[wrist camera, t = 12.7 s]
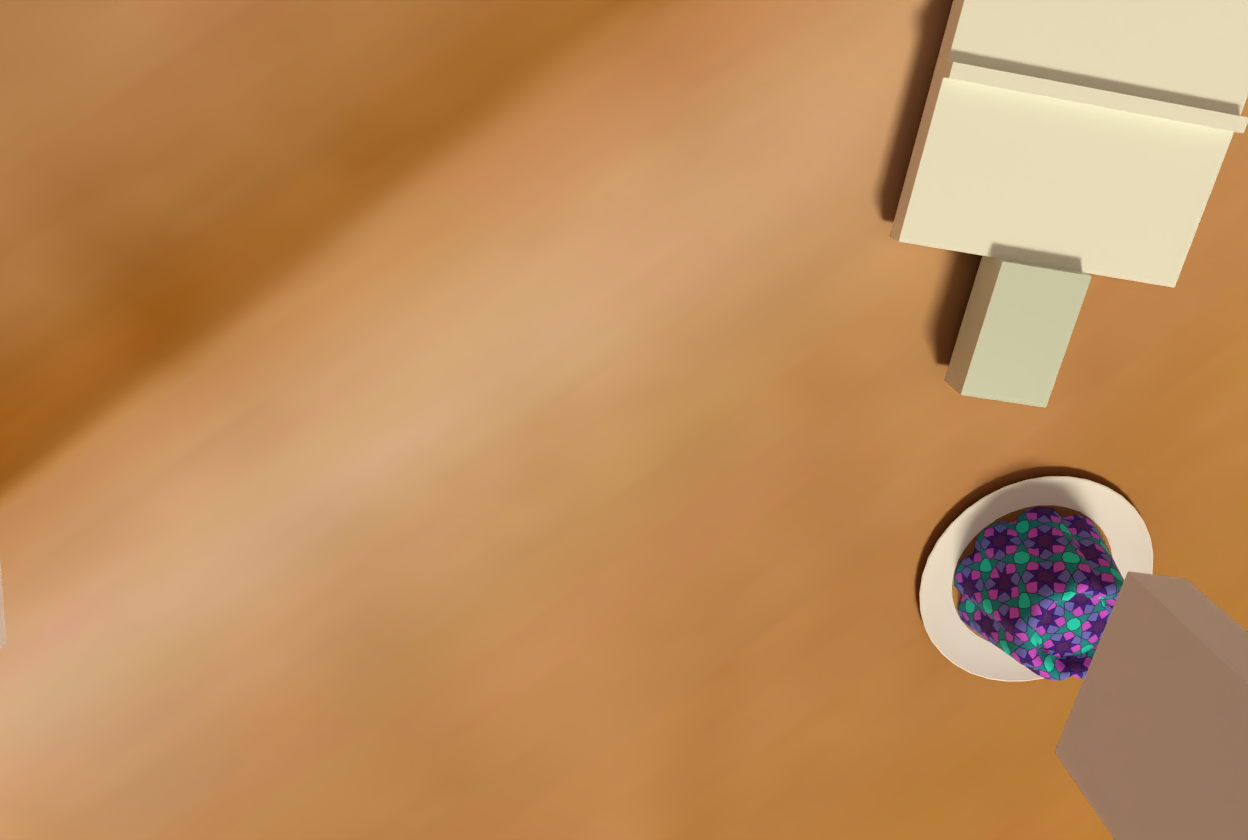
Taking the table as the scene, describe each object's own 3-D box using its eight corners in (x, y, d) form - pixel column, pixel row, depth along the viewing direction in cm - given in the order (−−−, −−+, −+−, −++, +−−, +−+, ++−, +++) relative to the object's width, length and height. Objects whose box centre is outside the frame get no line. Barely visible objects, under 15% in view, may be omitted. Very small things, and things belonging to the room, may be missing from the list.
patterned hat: (873, 552, 48) (907, 608, 43) (1088, 424, 46) (1150, 469, 41) (977, 709, 52) (1018, 777, 47) (1179, 598, 50) (1245, 657, 45)
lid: (848, 359, 44) (867, 380, 41) (1030, -324, 35) (1070, -356, 32) (1101, 398, 45) (1135, 421, 43) (1340, -250, 36) (1404, -275, 33)
